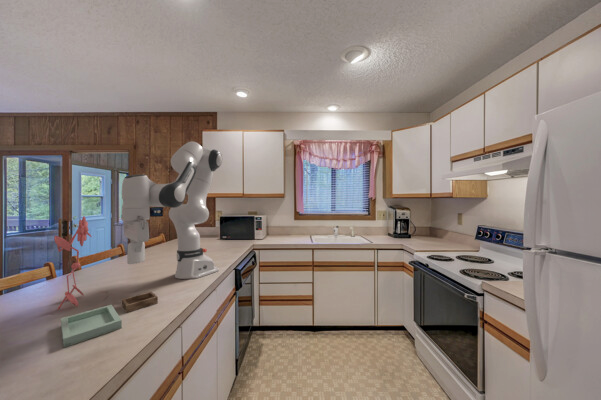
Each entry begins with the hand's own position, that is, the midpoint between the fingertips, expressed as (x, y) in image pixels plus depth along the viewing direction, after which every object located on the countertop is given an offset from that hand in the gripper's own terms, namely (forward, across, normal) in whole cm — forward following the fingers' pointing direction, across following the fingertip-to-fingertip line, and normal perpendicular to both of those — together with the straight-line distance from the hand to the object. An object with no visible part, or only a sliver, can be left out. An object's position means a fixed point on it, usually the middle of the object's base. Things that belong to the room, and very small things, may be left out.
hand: (136, 251), depth 89 cm
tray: (+21, -6, +14) cm, 26 cm away
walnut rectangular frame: (+21, +1, -1) cm, 21 cm away
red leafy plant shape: (+22, +23, +13) cm, 34 cm away
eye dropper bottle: (+5, 0, 0) cm, 5 cm away
